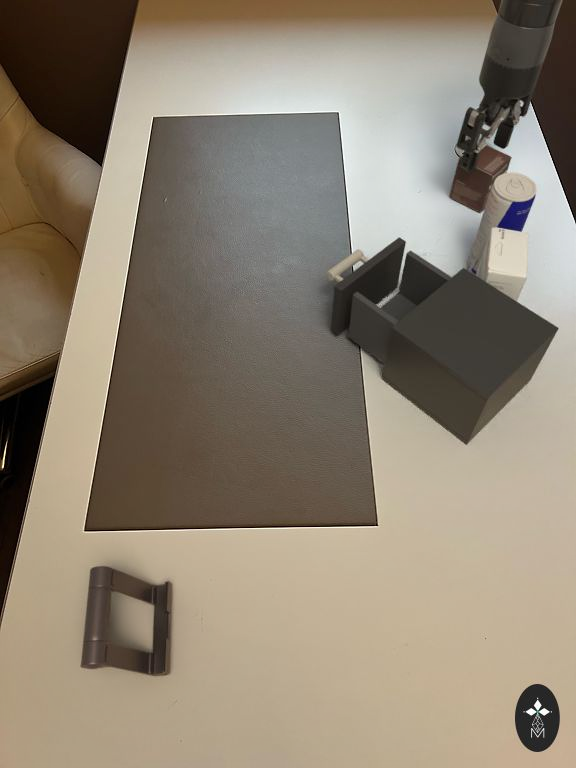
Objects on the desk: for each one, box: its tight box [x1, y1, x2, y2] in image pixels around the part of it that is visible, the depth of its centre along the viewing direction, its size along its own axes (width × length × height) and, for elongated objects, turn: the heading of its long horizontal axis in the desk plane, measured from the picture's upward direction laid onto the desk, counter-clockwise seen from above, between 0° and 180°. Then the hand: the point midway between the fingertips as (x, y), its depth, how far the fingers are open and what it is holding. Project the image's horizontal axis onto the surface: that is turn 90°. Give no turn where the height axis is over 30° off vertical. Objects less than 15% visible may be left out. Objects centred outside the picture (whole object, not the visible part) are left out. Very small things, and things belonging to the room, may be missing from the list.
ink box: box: [476, 227, 530, 302], centre depth 82 cm, size 9×5×12 cm, turn 167°
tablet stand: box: [80, 565, 173, 677], centre depth 60 cm, size 9×8×8 cm
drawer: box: [325, 237, 453, 365], centre depth 81 cm, size 17×12×9 cm
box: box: [448, 143, 512, 213], centre depth 98 cm, size 6×6×7 cm
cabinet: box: [381, 267, 559, 445], centre depth 76 cm, size 14×14×11 cm
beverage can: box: [466, 172, 538, 275], centre depth 86 cm, size 6×6×15 cm
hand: (483, 157), depth 95 cm, fingers open, 8 cm apart
